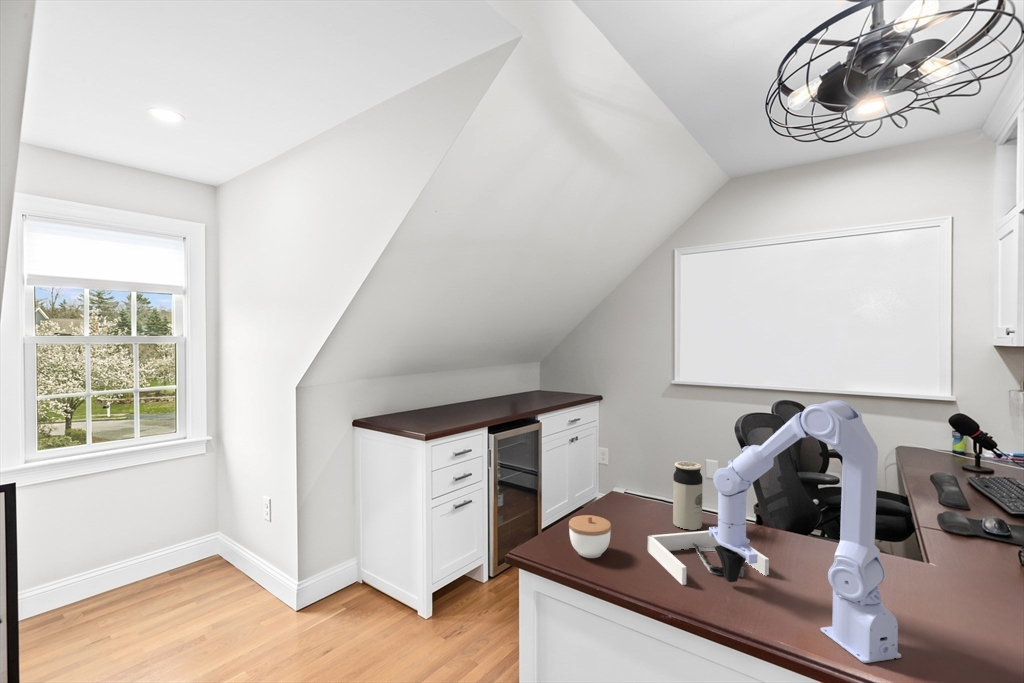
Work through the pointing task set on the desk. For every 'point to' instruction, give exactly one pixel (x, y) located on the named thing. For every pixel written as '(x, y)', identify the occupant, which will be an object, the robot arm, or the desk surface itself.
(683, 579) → the box
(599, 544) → the lidded jar
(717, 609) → the desk surface
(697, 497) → the travel mug
